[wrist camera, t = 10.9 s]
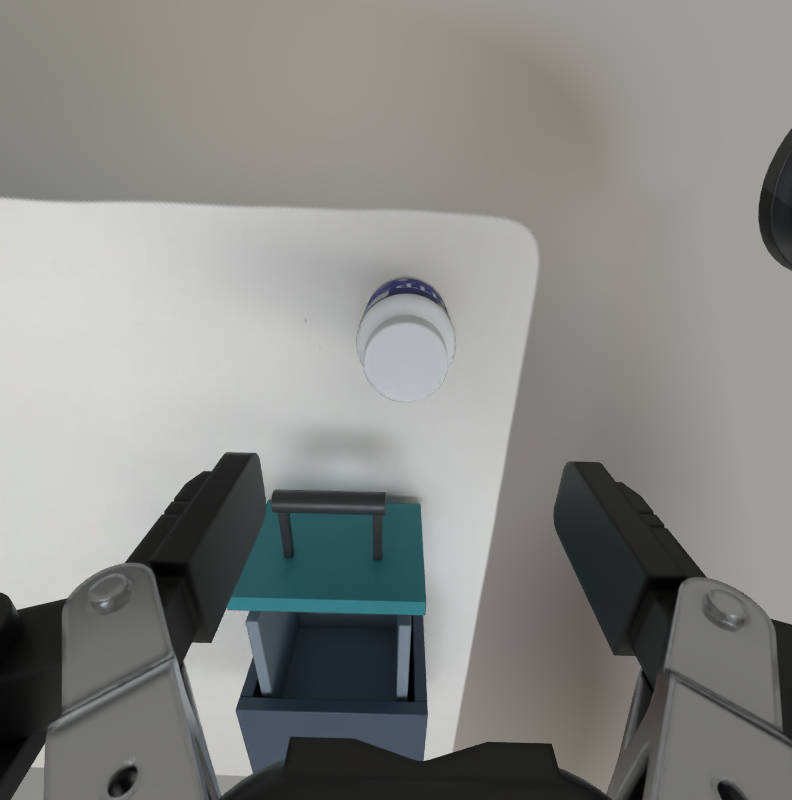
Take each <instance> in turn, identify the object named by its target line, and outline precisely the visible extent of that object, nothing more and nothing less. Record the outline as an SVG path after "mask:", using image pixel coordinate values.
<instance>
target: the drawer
mask: <svg viewBox="0 0 792 800" xmlns="http://www.w3.org/2000/svg"><path fill="white" fill-rule="evenodd" d="M227 610H245V611H249V614H248V617H247V619H246V626H247V630H248V635H249V639H250V644H251V648H252V653H253V658H254V662H255V667H256V671H257V676H258V680H259V685H260V689H261V694H262V698H294V699H330V700H366V701H401V702H407V695H408V676H409V658H410V639H411V615H425V610H426V593H425V575H424V558H423V540H422V523H421V505H420V504H409V503H386V493H385V492H350V491H309V490H274V492H273V494H272V499H271V500H268V502H267V504H266V513H265V518H264V522H263V525H262V527H261V529H260V532H259V534H258V536H257V539H256V541H255V543H254V546H253V548H252V550H251V552H250V555H249V557H248V559H247V562H246V564H245V566H244V569H243V571H242V573H241V576H240V578H239V580H238V582H237V585H236V587H235V589H234V592H233V594H232V596H231V599H230V601H229V603H228V606H227Z"/></svg>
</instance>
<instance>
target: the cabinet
mask: <svg viewBox="0 0 792 800" xmlns="http://www.w3.org/2000/svg"><path fill="white" fill-rule="evenodd" d="M236 713H237V717H238V721H239V724H240V728H241V731H242V735H243V739H244V742H245V746H246V749H247V753H248V757H249V760H250V764H251V767H252V771H253V773H254V772H256V771H258V770H260V769H262V768H264V767H266V766H268V765H271V764H273V763H275V762H278V761H282V760H285V758H286V753H287V749H288V744H289V739H290V737H324V738H355V739H357V740H360V741H363V742H366V743H369V744H371V745H374V746H377V747H380V748H383V749H385V750H388V751H391V752H394V753H397V754H399V755H402V756H405V757H408V758H411V759H413V760H417V761H423V760H424V749H425V739H426V728H427V718H428V710H427V689H426V668H425V647H424V626H423V615H411V639H410V658H409V676H408V695H407V702H401V701H366V700H330V699H294V698H262V694H261V689H260V685H259V680H258V676H257V671H256V667H255V662H254V658H253V659H252V662H251V665H250V668H249V671H248V674H247V677H246V680H245V683H244V686H243V689H242V692H241V695H240V698H239V701H238V704H237V707H236Z"/></svg>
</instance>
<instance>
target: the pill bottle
mask: <svg viewBox="0 0 792 800" xmlns="http://www.w3.org/2000/svg"><path fill="white" fill-rule="evenodd" d="M455 348H456V338H455V332H454V327H453V325H452V322H451V320H450V317H449V315H448V312H447V309H446V307H445V304H444V302H443V300H442V298H441V296H440V295H439V293H438V292H437V291H436V290H435V288H433V287H432V286H431V285H430V284H428V283H427V282H425V281H423V280H420V279H417V278H412V277H401V278H396V279H393V280H390V281H388V282H386V283H384V284H383V285H382V286H380V287H379V288H378V289H377V290H376V291H375V292H374V294H373V295H372V297H371V298H370V300H369V302H368V305H367V307H366V310H365V312H364V315H363V317H362V320H361V322H360V325H359V329H358V333H357V352H358V356H359V359H360V362H361V364H362V366H363V367H364V371H365V375H366V377H367V379H368V381H369V383H370V384H371V386H372V387H373V388H374V389H375V390H376V391H377V392H378V393H380V394H381V395H382V396H384V397H386V398H388V399H391V400H394V401H399V402H412V401H417V400H421V399H423V398H425V397H427V396H429V395H430V394H432V393H433V392H434V391H435V390H437V389H438V388H439V386H440V385H441V383H442V382H443V380H444V378H445V376H446V373H447V370H448V368H449V366H450V365H451V362H452V360H453V357H454V353H455Z"/></svg>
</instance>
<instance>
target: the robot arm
mask: <svg viewBox="0 0 792 800" xmlns="http://www.w3.org/2000/svg"><path fill="white" fill-rule="evenodd" d="M265 513H266V497H265V491H264V484H263V478H262V471H261V465H260V459H259V456H258V455H257V454H256V453H235V452H227V453H225V454H224V455H223V456H222V458H221V459H220V460H219V462H218V463H217V465H216V466H215V468H214V469H213V470H212V471H203V472H202V473H200V474H199V475H197V476H196V477H195V478H193V479H192V480H190V481H189V482H187V483H186V484H185V485H184V487H183V488H182V489H181V490H180V492H179V493H178V494H177V496H176V497H175V498H174V502H171V503H170V505H169V506H168V507H167V509H166V510H165V513H164V515H161V517H160V518H159V519H158V520H157V522H156V523H155V524H154V526H153V527H152V528H151V530H150V531H149V532H148V533H147V535H146V536H145V537H144V539H143V540H142V541H141V543H140V544H139V545H138V546H137V548H136V549H135V550H134V552H133V553H132V554H131V556H130V557H129V558H128V559H127V561H126V562H125V563H124V564H119V565H115V566H112V567H109V568H106V569H104V570H102V571H100V572H98V573H96V574H94V575H93V576H91V577H90V578H88V579H87V580H85V581H84V582H83V583H81V584H80V585H79V586H78V587H77V588H76V589H75V590H74V591H73V592H72V593H71V595H70V596H69V597H68V598H67V599H63V600H58V601H54V602H50V603H45V604H41V605H37V606H33V607H28V608H24V609H20V610H16V608H15V606H14V605H13V603H12V601H11V600H10V598H9V597H8V596H7V595H5V594H3V593H0V800H11V798H12V797H13V795H14V793H15V792H16V790H17V788H18V787H19V785H20V783H21V782H22V780H23V778H24V777H25V775H26V773H27V772H28V770H29V769H30V767H31V765H32V764H33V762H34V760H35V759H36V757H37V755H38V754H39V752H40V751H41V749H42V747H43V746H44V744H45V765H44V800H792V625H791V624H787V623H784V622H780V621H777V620H773V619H770V618H769V616H768V615H767V614H766V613H765V611H764V610H763V609H762V608H761V607H760V606H759V605H758V604H757V603H756V602H754V601H753V600H752V599H751V598H750V597H748V596H747V595H745V594H744V593H742V592H740V591H739V590H737V589H735V588H733V587H731V586H729V585H727V584H725V583H722V582H720V581H717V580H713V579H709V578H707V577H706V576H705V575H704V573H703V572H702V571H701V570H700V568H699V567H698V566H697V565H696V563H695V562H694V561H693V560H692V559H691V557H690V556H689V555H688V554H687V552H686V551H685V550H684V549H683V548H682V546H681V545H680V544H679V543H678V541H677V540H676V539H675V538H674V536H673V535H672V534H671V533H670V532H669V530H668V529H666V528H664V524H663V523H662V522H661V520H660V519H659V518H658V517H657V516H656V515H654V514H653V511H652V509H651V508H650V507H649V506H648V504H647V503H646V502H645V501H644V499H643V498H642V497H641V496H640V495H639V494H637V493H636V492H634V491H633V490H632V489H630V488H629V487H627V486H626V485H625V484H623V483H622V482H615V481H614V479H613V478H612V477H611V475H610V474H609V473H608V472H607V470H606V469H605V467H604V466H603V465H602V464H601V463H599V462H568V463H566V465H565V467H564V470H563V474H562V478H561V482H560V486H559V490H558V494H557V498H556V502H555V506H554V525H555V529H556V532H557V534H558V536H559V538H560V541H561V543H562V545H563V547H564V549H565V551H566V554H567V556H568V558H569V560H570V562H571V564H572V566H573V569H574V571H575V573H576V575H577V577H578V579H579V581H580V584H581V586H582V588H583V590H584V592H585V594H586V596H587V599H588V601H589V603H590V605H591V607H592V609H593V611H594V614H595V615H596V618H597V620H598V622H599V624H600V626H601V629H602V631H603V633H604V635H605V637H606V639H607V641H608V643H609V646H610V648H611V650H612V652H613V654H614V655H621V656H636V657H637V659H638V661H639V663H640V665H641V669H640V671H639V674H638V676H637V680H636V685H635V689H634V693H633V697H632V702H631V706H630V711H629V715H628V719H627V723H626V728H625V732H624V736H623V741H622V745H621V749H620V753H619V758H618V761H617V765H616V768H615V771H614V774H613V776H612V779H611V782H610V785H609V787H608V791H607V794H605V793H603V792H602V791H601V790H599V789H598V788H596V787H594V786H593V785H591V784H590V783H588V782H587V781H585V780H584V779H582V778H580V777H578V776H576V775H574V774H572V773H570V772H568V771H566V770H563V769H560V768H558V765H557V761H556V758H555V754H554V750H553V747H552V744H544V743H506V742H486V743H483V744H479V745H476V746H473V747H470V748H466V749H463V750H460V751H456V752H453V753H450V754H447V755H444V756H440V757H437V758H434V759H431V760H427V761H417V760H413V759H411V758H408V757H405V756H402V755H399V754H397V753H394V752H391V751H388V750H385V749H383V748H380V747H377V746H374V745H371V744H369V743H366V742H363V741H360V740H357V739H355V738H324V737H290V739H289V744H288V749H287V753H286V758H285V760H282V761H278V762H275V763H273V764H271V765H268V766H266V767H264V768H262V769H260V770H258V771H256V772H254V773H253V774H251V775H250V776H248V777H246V778H245V779H243V780H241V781H240V782H239V783H238V784H236V785H235V786H234V787H232V788H231V789H230V790H228V791H227V792H226V793H225V794H224V795H223V796H221V793H220V790H219V786H218V782H217V779H216V776H215V772H214V769H213V766H212V763H211V759H210V756H209V753H208V749H207V745H206V742H205V738H204V734H203V730H202V726H201V723H200V719H199V715H198V711H197V707H196V704H195V700H194V696H193V692H192V688H191V685H190V681H189V677H188V673H187V669H186V666H185V663H184V658H185V656H186V654H187V652H188V650H189V648H190V645H191V643H192V642H197V643H211V642H212V640H213V638H214V636H215V633H216V631H217V629H218V626H219V624H220V622H221V619H222V617H223V615H224V612H225V610H226V608H227V606H228V603H229V601H230V599H231V596H232V594H233V592H234V589H235V587H236V585H237V582H238V580H239V578H240V576H241V573H242V571H243V569H244V566H245V564H246V562H247V559H248V557H249V555H250V552H251V550H252V548H253V546H254V543H255V541H256V539H257V536H258V534H259V532H260V529H261V527H262V525H263V522H264V518H265Z"/></svg>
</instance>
